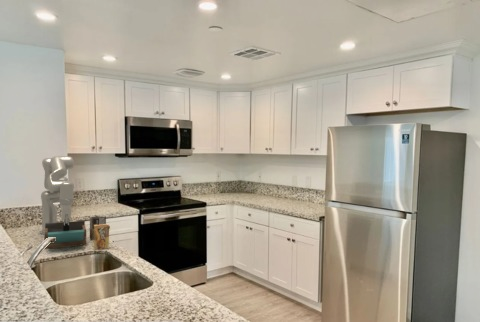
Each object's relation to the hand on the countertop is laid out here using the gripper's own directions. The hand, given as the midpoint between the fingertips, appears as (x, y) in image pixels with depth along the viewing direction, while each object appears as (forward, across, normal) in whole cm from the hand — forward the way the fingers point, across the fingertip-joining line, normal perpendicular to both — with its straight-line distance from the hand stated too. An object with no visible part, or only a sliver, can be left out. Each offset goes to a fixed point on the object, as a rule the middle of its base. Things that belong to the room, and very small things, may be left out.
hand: (66, 231), depth 210 cm
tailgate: (+9, -9, 0) cm, 13 cm away
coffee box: (+12, -18, +20) cm, 30 cm away
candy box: (+12, +4, +20) cm, 24 cm away
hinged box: (+12, -17, 0) cm, 21 cm away
